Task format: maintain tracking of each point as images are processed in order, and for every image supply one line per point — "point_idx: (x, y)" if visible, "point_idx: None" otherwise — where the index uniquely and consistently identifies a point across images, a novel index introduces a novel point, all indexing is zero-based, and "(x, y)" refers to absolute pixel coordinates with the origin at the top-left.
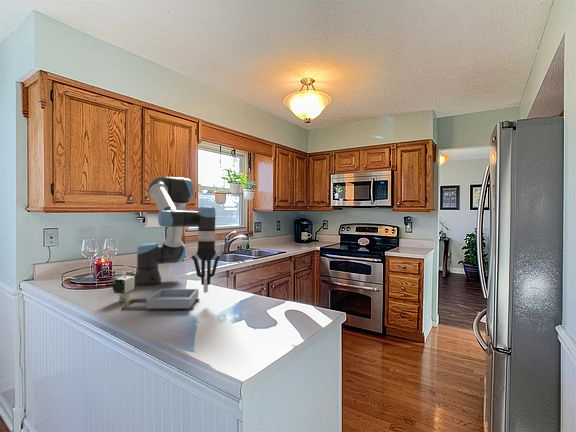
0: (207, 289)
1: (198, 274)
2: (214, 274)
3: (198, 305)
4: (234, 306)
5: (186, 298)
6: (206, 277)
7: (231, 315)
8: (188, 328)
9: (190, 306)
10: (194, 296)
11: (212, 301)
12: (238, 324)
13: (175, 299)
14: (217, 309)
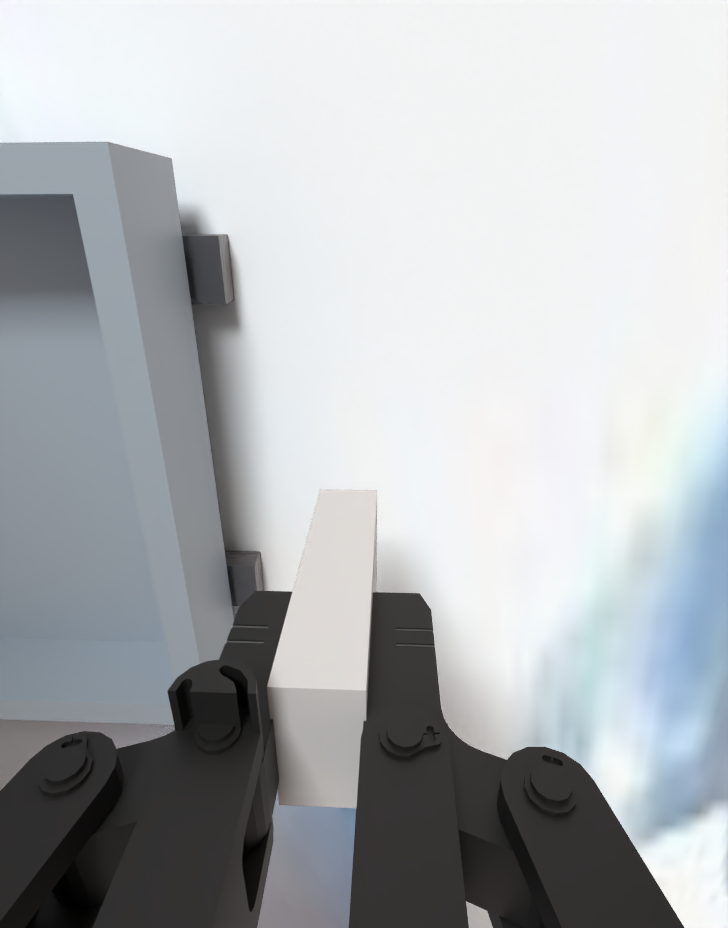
0: (375, 554)
1: (89, 908)
2: (593, 815)
3: (279, 457)
4: (711, 503)
5: (60, 374)
6: (328, 733)
7: (640, 731)
8: (350, 889)
9: (232, 618)
10: (185, 473)
11: (426, 280)
12: (668, 865)
13: (50, 717)
14: (513, 590)
